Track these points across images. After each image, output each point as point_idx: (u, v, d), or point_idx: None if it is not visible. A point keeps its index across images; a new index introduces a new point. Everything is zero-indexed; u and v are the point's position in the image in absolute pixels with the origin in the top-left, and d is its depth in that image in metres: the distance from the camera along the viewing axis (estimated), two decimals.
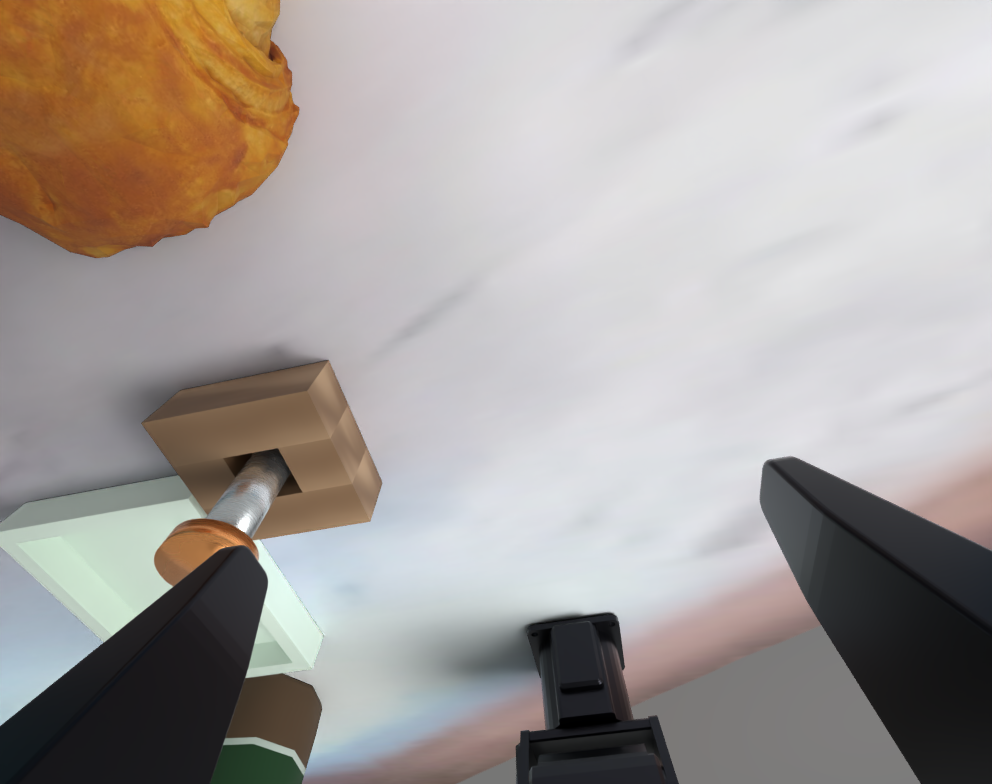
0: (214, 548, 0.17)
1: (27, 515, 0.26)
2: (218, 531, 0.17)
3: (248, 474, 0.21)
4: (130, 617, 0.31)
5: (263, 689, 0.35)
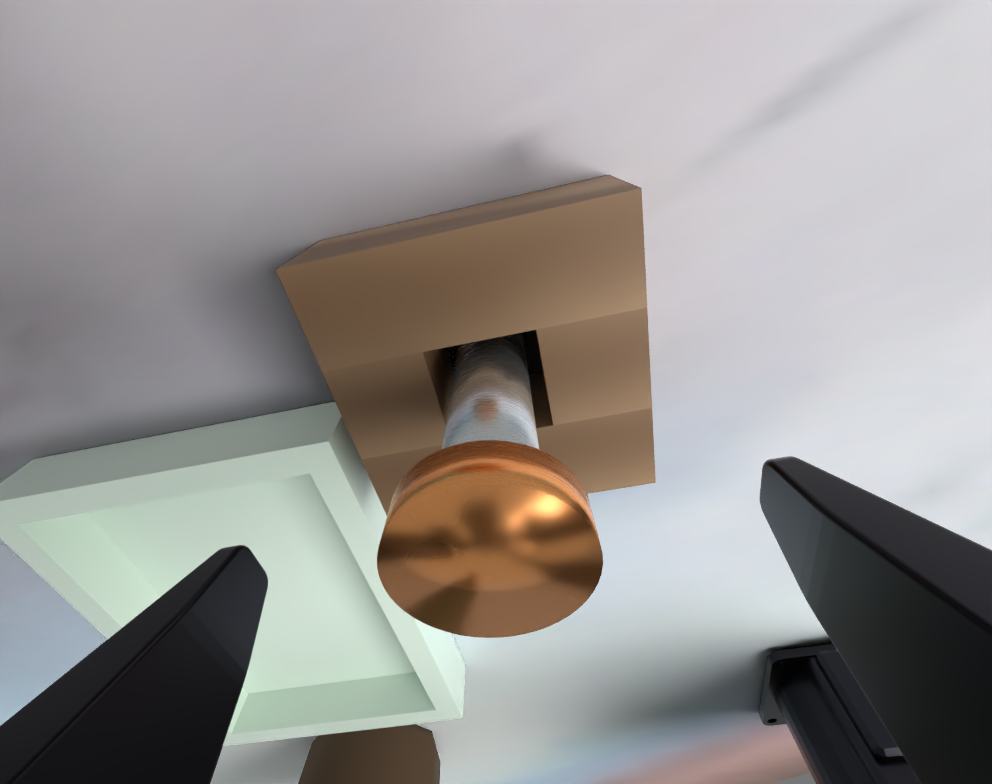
0: (550, 512, 0.06)
1: (36, 477, 0.15)
2: (545, 470, 0.07)
3: (491, 376, 0.10)
4: None
5: (371, 740, 0.24)
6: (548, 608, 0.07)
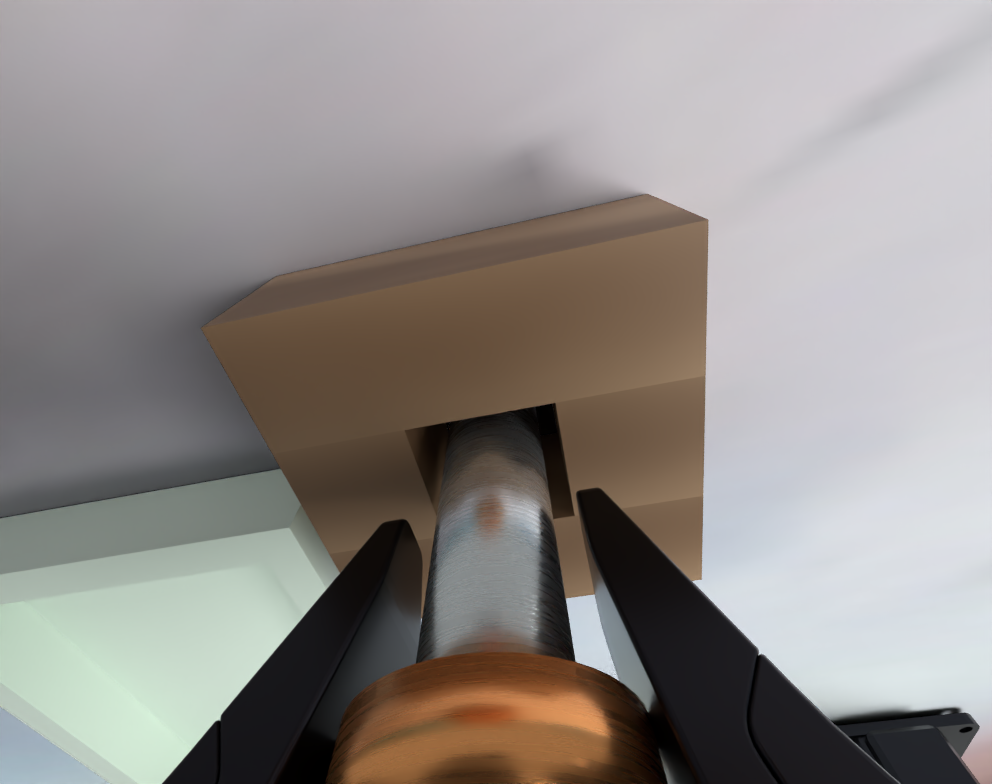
0: None
1: None
2: (590, 718, 0.04)
3: (495, 472, 0.08)
4: (146, 724, 0.18)
5: None
6: None
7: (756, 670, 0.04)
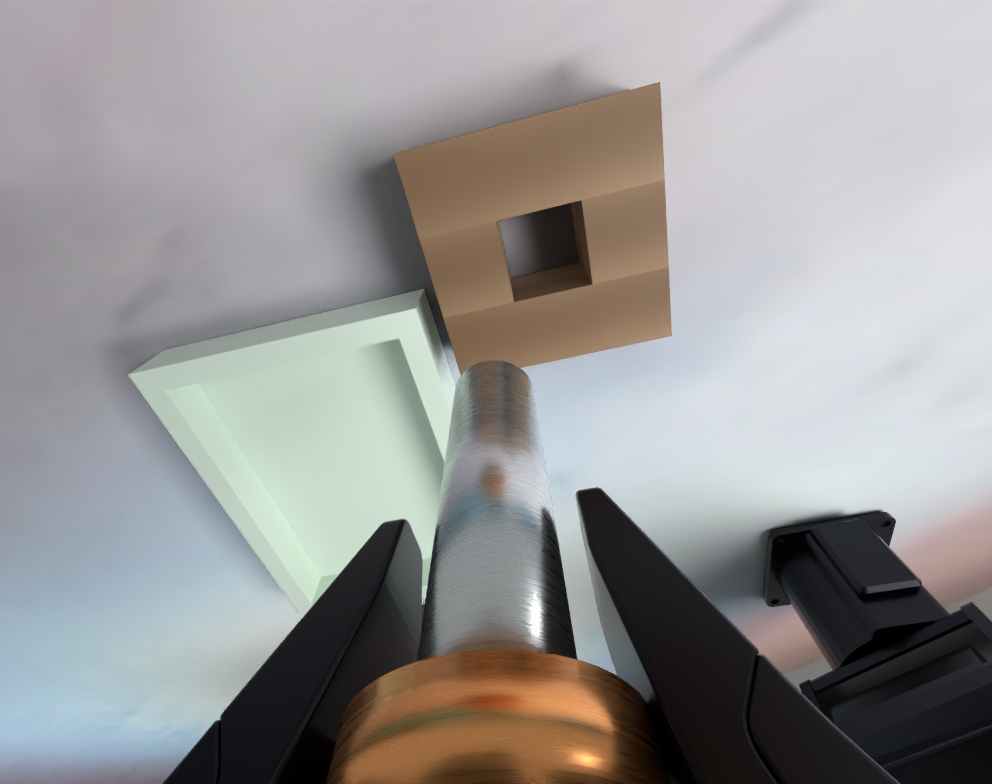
0: None
1: (176, 355, 0.19)
2: (593, 716, 0.04)
3: (496, 470, 0.08)
4: (279, 520, 0.24)
5: None
6: None
7: (756, 670, 0.04)
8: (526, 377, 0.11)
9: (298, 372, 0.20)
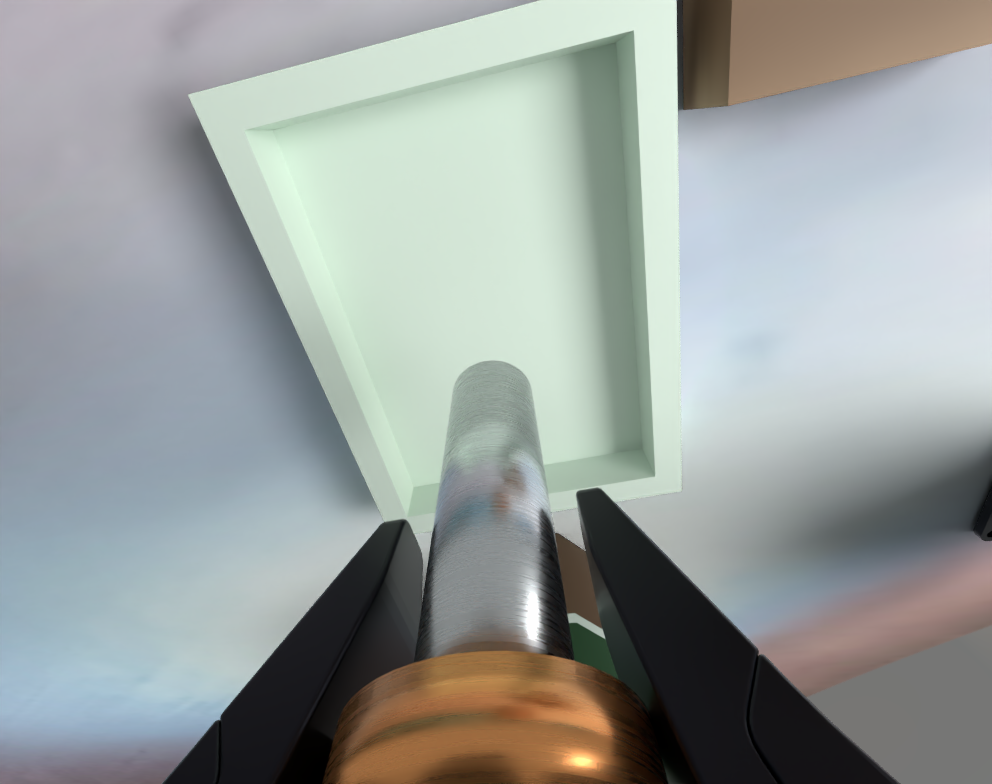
0: None
1: None
2: (590, 717, 0.04)
3: (494, 470, 0.08)
4: (373, 394, 0.17)
5: None
6: None
7: (756, 670, 0.04)
8: (524, 377, 0.11)
9: (435, 137, 0.14)
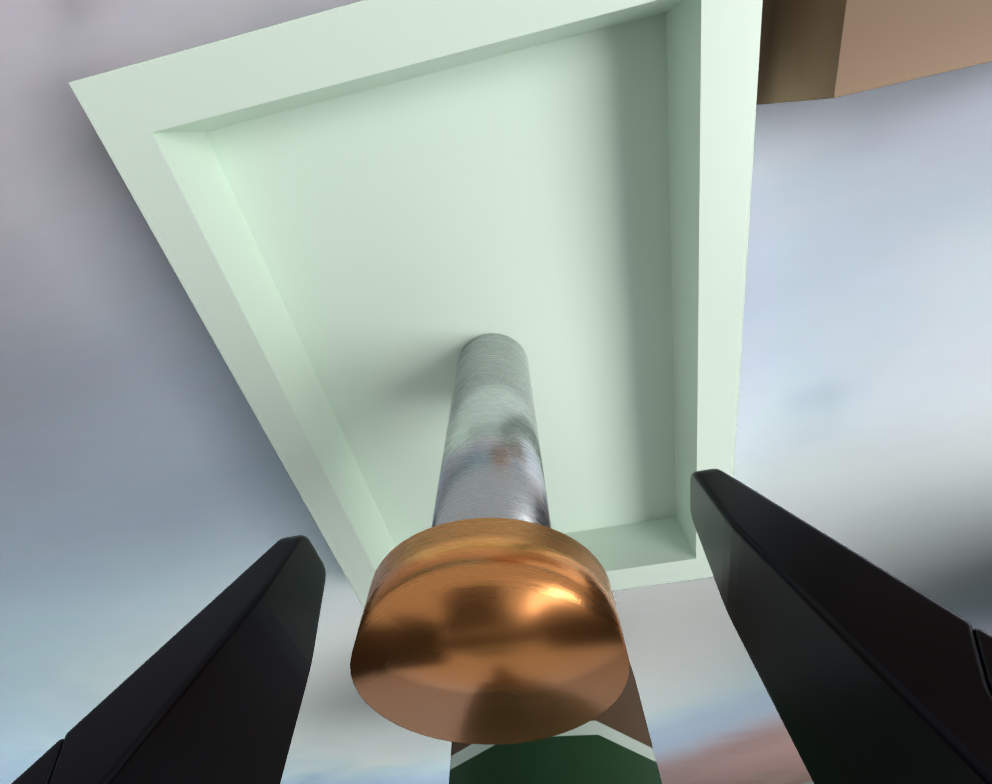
0: (566, 618, 0.05)
1: None
2: (558, 559, 0.05)
3: (492, 415, 0.09)
4: (347, 457, 0.14)
5: None
6: (561, 716, 0.06)
7: (978, 644, 0.04)
8: (521, 348, 0.13)
9: (420, 142, 0.10)
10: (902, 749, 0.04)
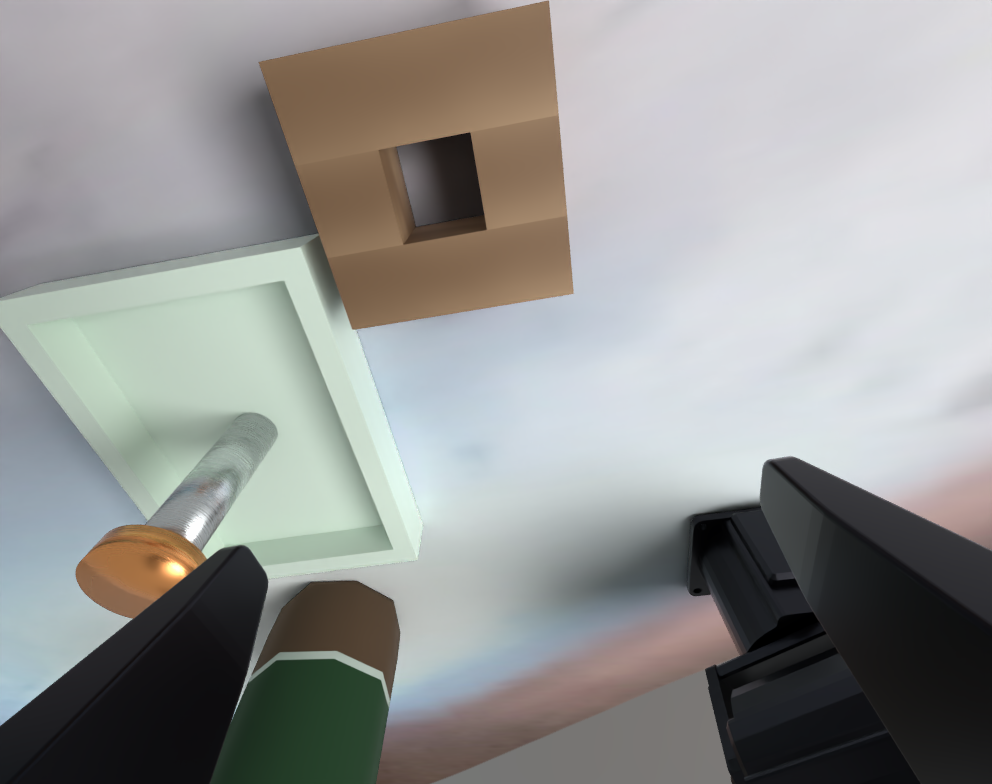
0: (151, 562, 0.14)
1: (44, 288, 0.17)
2: (157, 541, 0.14)
3: (204, 470, 0.18)
4: (173, 481, 0.23)
5: (336, 597, 0.27)
6: None
7: None
8: (268, 421, 0.21)
9: (186, 317, 0.19)
10: None
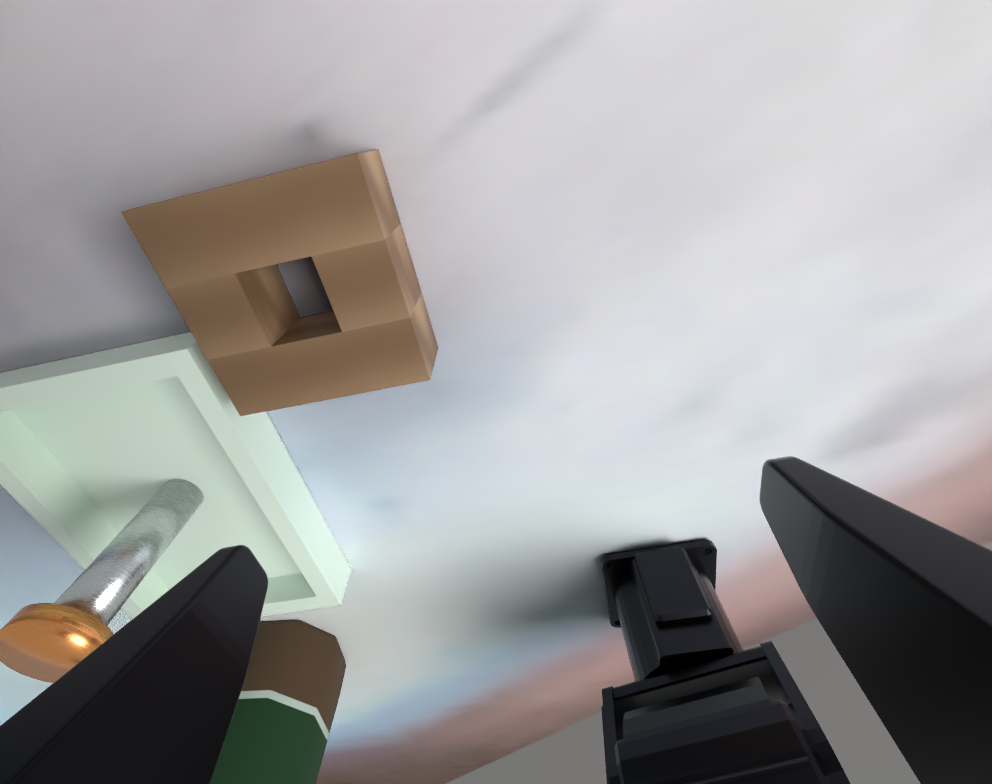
0: (52, 638, 0.16)
1: None
2: (59, 618, 0.16)
3: (120, 542, 0.20)
4: None
5: (278, 637, 0.29)
6: None
7: None
8: (192, 486, 0.23)
9: (107, 401, 0.21)
10: None
